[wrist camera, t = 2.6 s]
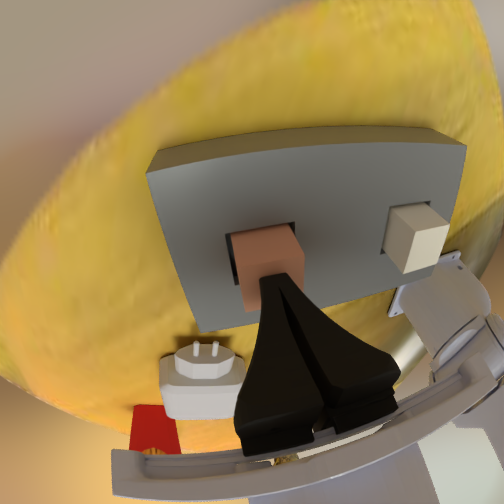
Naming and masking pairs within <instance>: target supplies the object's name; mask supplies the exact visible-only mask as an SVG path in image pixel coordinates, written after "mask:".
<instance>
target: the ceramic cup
mask: <svg viewBox="0 0 504 504" xmlns="http://www.w3.org/2000/svg"><path fill="white" fill-rule="evenodd" d="M298 459H299V458H298V455H297V453H295V454H290V455H286V456H282V457H277V458H274V461H275V463H274V465H273V466H275V465H279V464H283V463H287V462H290V461H294V460H298Z"/></svg>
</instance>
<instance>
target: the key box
mask: <svg viewBox="0 0 504 504" xmlns="http://www.w3.org/2000/svg"><path fill="white" fill-rule="evenodd" d="M466 150H467V146H466V145H464V144H462V143H461V142H459V141H456V140H454V139H452V138H450V137H448V136H446V135H444V134H442V133H440V132H437V131H435V130H433V129H427V128H414V127H397V126H327V127H308V128H295V129H283V130H273V131H264V132H256V133H249V134H241V135H235V136H228V137H222V138H216V139H210V140H205V141H200V142H195V143H190V144H185V145H180V146H176V147H171V148H167V149H163V150H158V151H157V153H156V154H155V156H154V158H153V160H152V162H151V164H150V166H149V168H148V170H147V172H146V177H147V181H148V184H149V188H150V191H151V195H152V198H153V202H154V205H155V208H156V211H157V215H158V218H159V221H160V224H161V227H162V230H163V233H164V236H165V239H166V242H167V245H168V248H169V251H170V254H171V257H172V260H173V263H174V266H175V268H176V271H177V274H178V277H179V279H180V282H181V285H182V287H183V290H184V293H185V295H186V298H187V300H188V303H189V305H190V308H191V311H192V313H193V316H194V318H195V320H196V323H197V325H198V328H199V330H200V333H205V332H211V331H217V330H223V329H228V328H234V327H239V326H244V325H249V324H255V323H259V322H260V314H261V310H256V311H251V312H245V308H244V303H243V298H242V293H241V289H240V284H239V279H238V274H237V268H236V263H235V257H234V252H233V246H232V240H231V235H230V233H232V232H237V231H243V230H248V229H254V228H259V227H265V226H271V225H276V224H282V223H288V224H289V226H290V228H291V230H292V232H293V234H294V235H295V237H296V239H297V241H298V243H299V245H300V247H301V249H302V250H303V252H304V254H305V264H304V291H303V293H304V294H305V295H306V296H307V297H308V298H309V299H310V300H311V301H312V302H313V303H314V304H315V305H316V306H317V307H318V308H319V309H321V308H325V307H329V306H333V305H337V304H341V303H344V302H348V301H352V300H355V299H359V298H363V297H366V296H370V295H373V294H376V293H380V292H383V291H386V290H390V289H393V288H396V287H399V286H402V285H406V284H409V283H412V282H415V281H418V280H421V279H424V278H427V277H430V276H431V275H432V272H433V270H434V267H435V265H436V264H434V265H431V266H428V267H425V268H422V269H418V270H415V271H412V272H409V273H405V274H402V272H401V271H400V270H399V268H398V267H397V266H396V265H395V263H394V262H393V261H392V260H391V258H390V257H389V256H388V255H387V254H386V252H385V251H384V250H383V249H382V248H381V247H382V243H383V238H384V233H385V228H386V223H387V218H388V212H389V206H395V205H402V204H409V203H416V202H424V203H426V204H427V205H428V206H429V207H430V208H432V209H433V210H434V211H435V212H436V213H438V214H439V215H440V216H441V217H442V218H443V219H445V220H446V221H447V222H448V223H449V224H450V220H451V217H452V213H453V210H454V206H455V202H456V198H457V194H458V190H459V186H460V182H461V177H462V172H463V167H464V162H465V156H466Z"/></svg>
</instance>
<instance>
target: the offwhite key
mask: <svg viewBox="0 0 504 504" xmlns="http://www.w3.org/2000/svg"><path fill="white" fill-rule="evenodd" d="M449 226H450V224H449V223H448V222H447V221H446V220H445V219H443V218H442V217H441V216H440V215H439V214H438V213H436V212H435V211H434V210H433V209H432V208H430V207H429V206H428V205H427V204H426V203H424V202H416V203H409V204H402V205H395V206H389V212H388V218H387V223H386V228H385V233H384V238H383V243H382V247H381V248H382V249H383V250H384V251H385V252H386V254H387V255H388V256H389V257H390V258H391V260H392V261H393V262H394V263H395V265H396V266H397V267H398V268H399V270H400V271H401V272H402V274H405V273H409V272H412V271H415V270H418V269H422V268H425V267H428V266H431V265H434V264H437V261H438V259H439V256H440V253H441V251H442V248H443V245H444V242H445V239H446V236H447V233H448V230H449Z"/></svg>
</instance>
